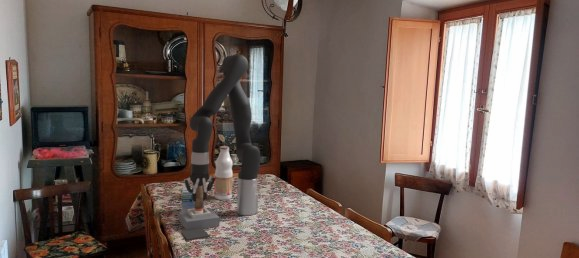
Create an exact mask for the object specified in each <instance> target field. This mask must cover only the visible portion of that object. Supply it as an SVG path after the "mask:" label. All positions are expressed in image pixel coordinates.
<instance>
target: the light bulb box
mask: <svg viewBox="0 0 579 258" xmlns="http://www.w3.org/2000/svg"><path fill="white" fill-rule="evenodd" d="M190 188H191V189H192V187H190ZM205 201H206V200H205ZM205 201H203V207H205ZM180 205H181V207H180V208H181V210H180V211H186V210H187V209H194V208H195V202H194V201H193V200H192V193H191V192H190V193H189V192H188V191H187V188H186V187H182V190H181V204H180Z"/></svg>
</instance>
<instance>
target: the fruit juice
mask: <svg viewBox="0 0 579 258" xmlns="http://www.w3.org/2000/svg"><path fill="white" fill-rule="evenodd" d="M219 150H220V152H219V154H218V157H217V159H216V160H215V171H214V178H215V181H214V198H215V199H216V200H220V201H225V200H230V199H232V197H233V169H232V168H233V164H234V162H233V159H232V157H231V155H230V147H229V146H227V145H222V146H219Z"/></svg>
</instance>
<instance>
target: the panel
mask: <svg viewBox="0 0 579 258" xmlns="http://www.w3.org/2000/svg"><path fill="white" fill-rule="evenodd" d="M220 217H221V216H219V215H218V214H216V212H215V211H213V210H212V209H211V208H210V207H205V206H204V207H203V213H198V214H195V208H194V209H187V210H186V211H181V210H180V211H179V210H178V221H179V222H180V224H181V225H182V227H183V228H184V229H185V231H186V230H193V229H200V228H203V229H204V230H205V229H211V228H216V227H220Z"/></svg>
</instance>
